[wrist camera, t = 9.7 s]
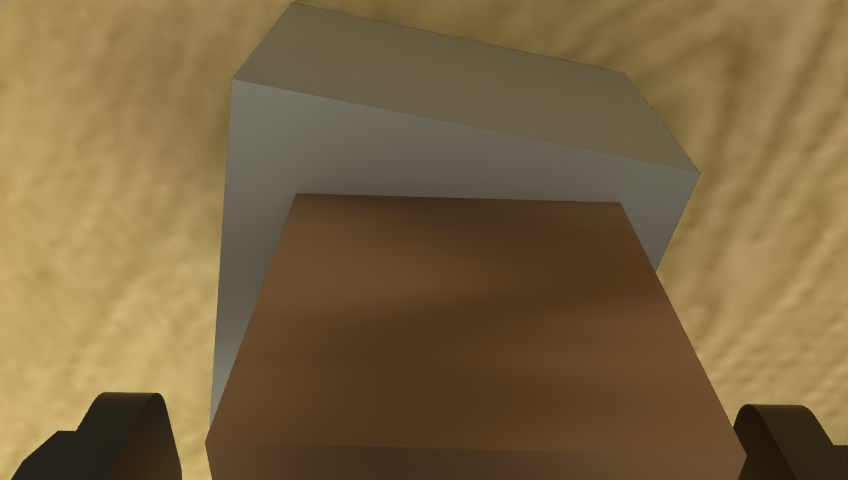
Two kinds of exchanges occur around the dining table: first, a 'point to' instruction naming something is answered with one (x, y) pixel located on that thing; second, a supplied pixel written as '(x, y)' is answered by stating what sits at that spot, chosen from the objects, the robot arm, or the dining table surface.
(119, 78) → the dining table surface
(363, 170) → the grey base block
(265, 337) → the walnut cube
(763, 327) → the dining table surface
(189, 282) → the dining table surface
